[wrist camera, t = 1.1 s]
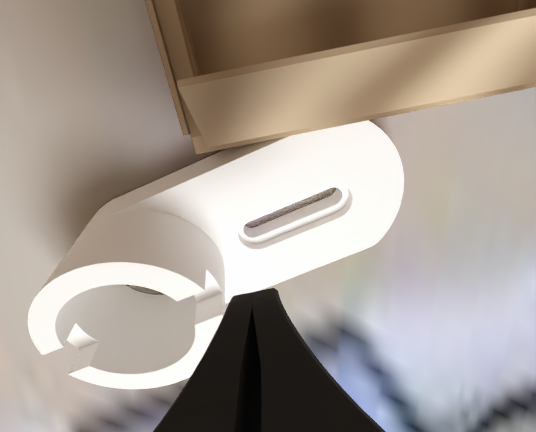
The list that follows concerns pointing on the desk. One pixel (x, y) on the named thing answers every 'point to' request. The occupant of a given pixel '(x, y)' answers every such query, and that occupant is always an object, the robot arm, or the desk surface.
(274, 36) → the carton
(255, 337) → the robot arm
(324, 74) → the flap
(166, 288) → the bracket
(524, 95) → the desk surface
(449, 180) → the desk surface
